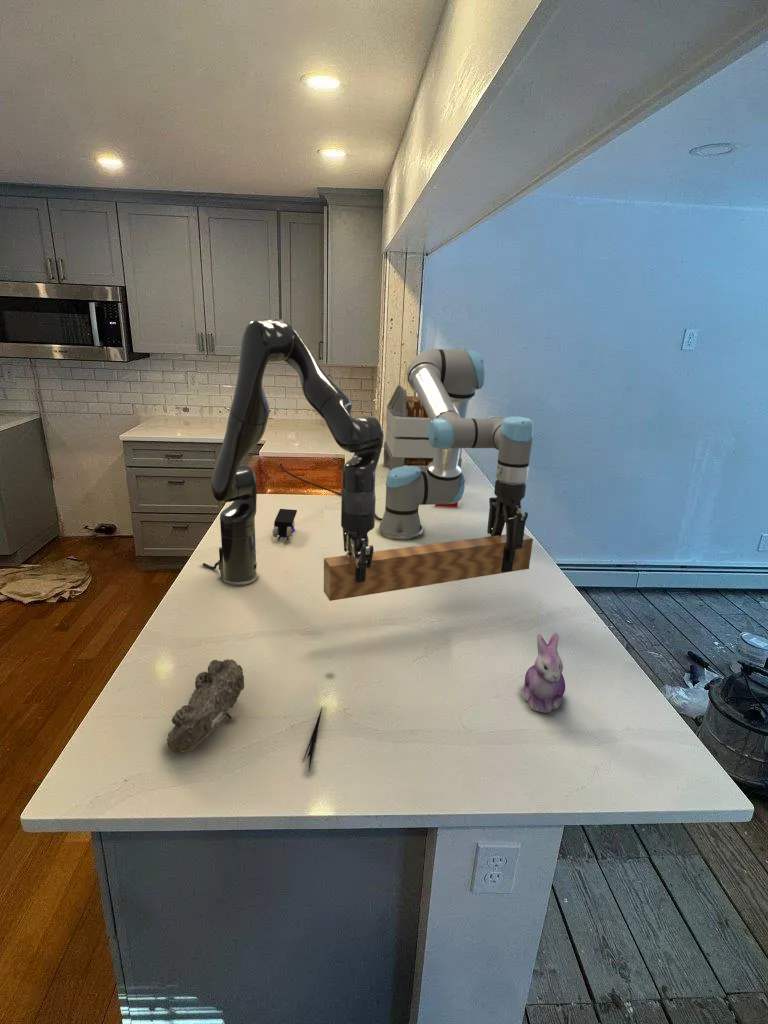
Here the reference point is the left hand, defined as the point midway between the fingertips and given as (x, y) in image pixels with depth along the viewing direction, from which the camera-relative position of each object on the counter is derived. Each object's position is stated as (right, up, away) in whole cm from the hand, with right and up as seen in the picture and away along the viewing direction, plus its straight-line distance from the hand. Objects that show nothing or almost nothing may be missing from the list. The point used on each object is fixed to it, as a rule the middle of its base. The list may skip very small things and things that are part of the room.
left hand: (356, 576), depth 131 cm
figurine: (+39, -24, -14) cm, 48 cm away
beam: (+18, -2, +9) cm, 20 cm away
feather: (-6, -25, -22) cm, 34 cm away
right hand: (+37, +1, +16) cm, 40 cm away
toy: (+31, +21, +111) cm, 117 cm away
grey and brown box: (+24, +34, +144) cm, 150 cm away
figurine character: (-27, +7, +63) cm, 69 cm away
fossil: (-26, -24, -23) cm, 43 cm away
